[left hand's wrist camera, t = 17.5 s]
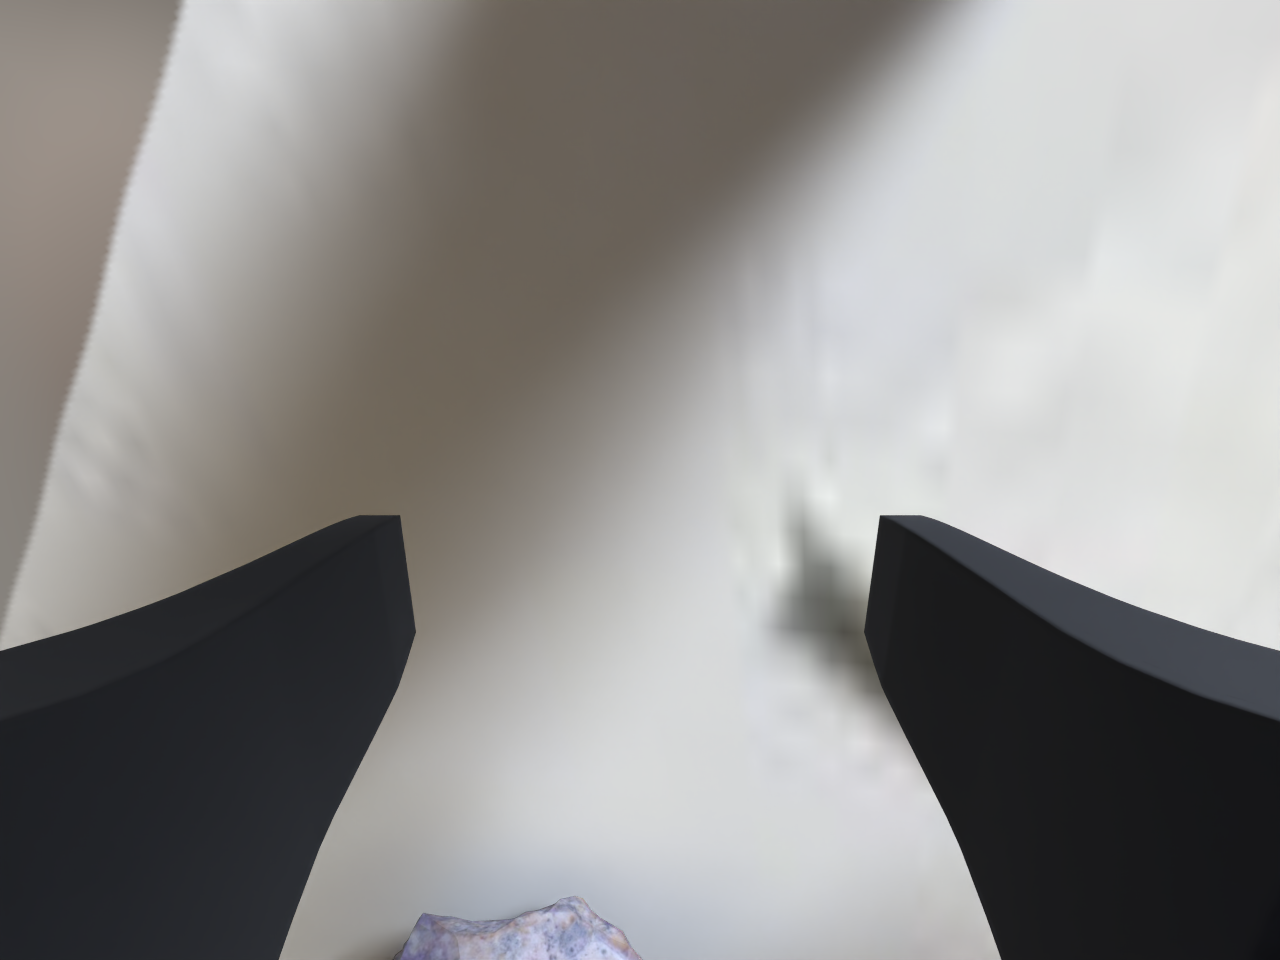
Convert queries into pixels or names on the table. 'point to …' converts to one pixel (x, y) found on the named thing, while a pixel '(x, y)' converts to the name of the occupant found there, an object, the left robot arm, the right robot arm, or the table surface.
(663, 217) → the table surface
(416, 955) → the stone
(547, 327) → the table surface
